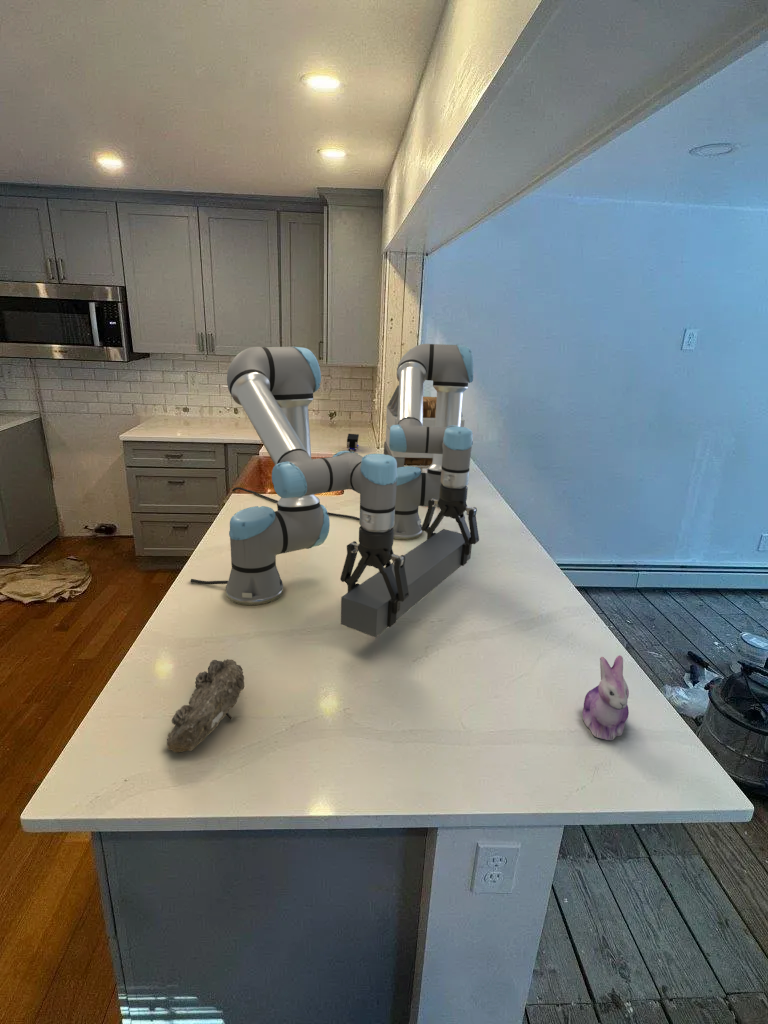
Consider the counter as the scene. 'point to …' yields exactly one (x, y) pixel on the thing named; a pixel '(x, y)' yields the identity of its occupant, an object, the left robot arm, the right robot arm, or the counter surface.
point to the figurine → (607, 702)
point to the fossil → (206, 705)
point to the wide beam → (423, 574)
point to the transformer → (428, 421)
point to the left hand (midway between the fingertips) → (372, 617)
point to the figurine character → (352, 441)
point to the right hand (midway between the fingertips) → (447, 559)
